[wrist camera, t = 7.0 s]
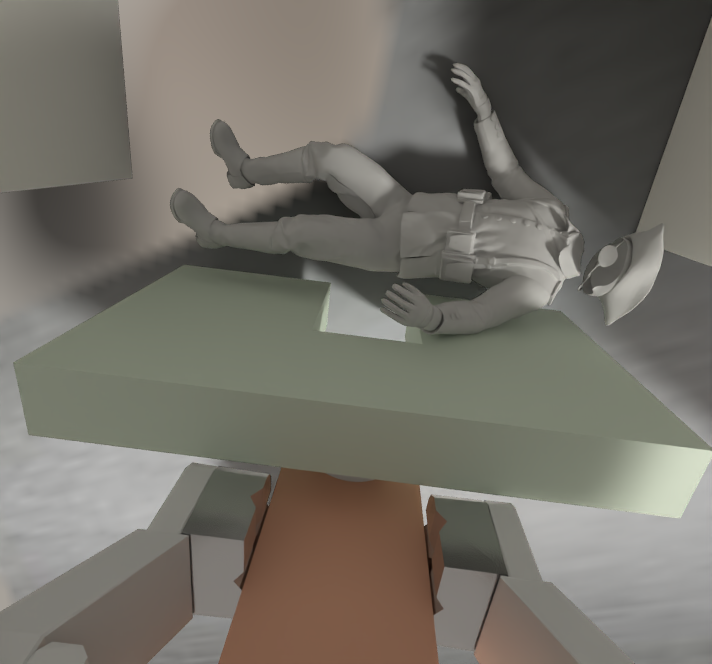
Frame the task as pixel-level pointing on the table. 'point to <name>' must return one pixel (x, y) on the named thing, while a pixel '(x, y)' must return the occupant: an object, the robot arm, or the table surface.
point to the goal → (111, 135)
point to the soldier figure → (434, 230)
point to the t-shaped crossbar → (355, 440)
